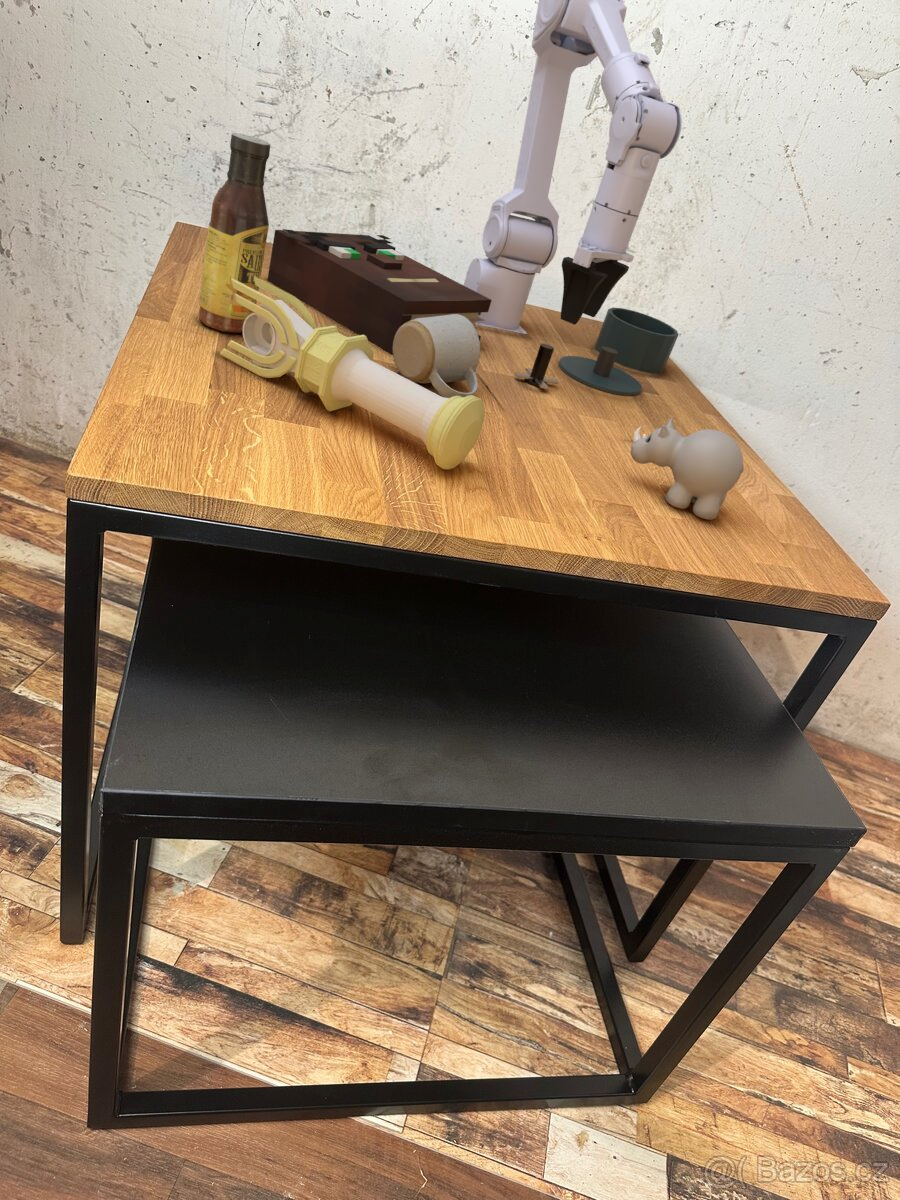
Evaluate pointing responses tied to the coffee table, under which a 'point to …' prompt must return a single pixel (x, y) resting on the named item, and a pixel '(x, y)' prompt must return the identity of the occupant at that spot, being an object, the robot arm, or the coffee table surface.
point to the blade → (539, 369)
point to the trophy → (350, 374)
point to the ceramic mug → (438, 352)
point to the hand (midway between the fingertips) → (578, 318)
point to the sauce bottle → (235, 236)
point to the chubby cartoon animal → (693, 465)
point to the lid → (601, 373)
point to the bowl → (637, 339)
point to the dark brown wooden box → (366, 283)
